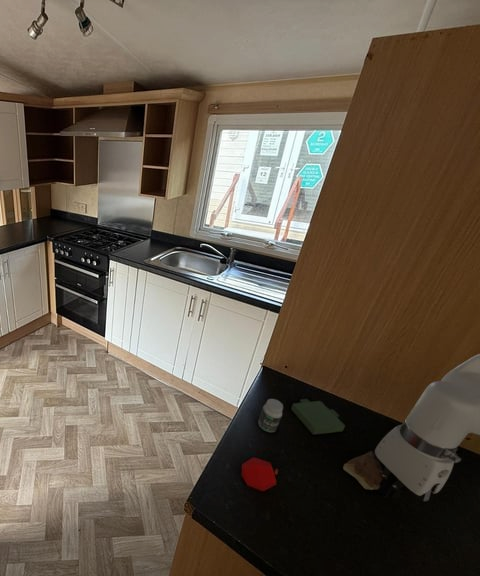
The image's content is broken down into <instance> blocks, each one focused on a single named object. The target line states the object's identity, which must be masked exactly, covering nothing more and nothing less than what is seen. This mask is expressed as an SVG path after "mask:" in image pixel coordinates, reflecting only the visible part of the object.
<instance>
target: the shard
mask: <svg viewBox="0 0 480 576" xmlns="http://www.w3.org/2000/svg"><path fill="white" fill-rule="evenodd" d="M374 453H375V450H370V451H368V452H367V453H365V454H362V455H359V456H356V457H354V458H352V459H350V460H348V462H345V463H344V464H343V466H342V467H343V468H342V469H343V471H345V472H346V473H348V474H349V475H350V476H352V477H353V478H354V479H355V480H356V481H358V483H359V484H360V485H361V486H362V487H363V489H365V490H370V491H373V490H378V488H379V487H380V485H379V484H380V482H381V481H382V479H383V476H382V473H383V470H382V467H381V464H380V462H379V461H378V460H377V458H376V457H375V456H374Z"/></svg>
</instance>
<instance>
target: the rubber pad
mask: <svg viewBox="0 0 480 576" xmlns="http://www.w3.org/2000/svg"><path fill="white" fill-rule="evenodd" d="M290 410H291V411H292V412H293V413H294V414H295V416H296V417H297V418H298V419H299V420H300V422H302V424H303V425H304V427H306V428H307V430H308V431H309V432H310V433H311V434H312V435H322V434H331V433H339V432H340V433H341V432H343V431H344V430H345V427H346V425H345V424H344V423H343V422H342V421H341V419H339V417H340V414H339V413H337V412H336V410H334V409H333V408H332V409H331V408H330V409H329V408H328V407H327V406H326V405H325V404H324V402H322V401H321V400H315V401H310V400H309V399H308V398H302V399H299V401H298V402H297V403H292V404H291V407H290Z"/></svg>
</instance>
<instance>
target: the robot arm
mask: <svg viewBox="0 0 480 576" xmlns="http://www.w3.org/2000/svg"><path fill="white" fill-rule="evenodd" d="M469 434H474V435H478V436H480V353H478V354H476V355H474V356H472V357H470V358H468V359H467V360H465V361H464V362H461V364H459V365H457V366H455V367H454V368H452V369H451V370H450V371H448V372H447V373H446V374H445V375H444V376H443V377H442V378H441V380H437V381H433V382H431V383H430V384H428V385H427V386H426V388H425V389H424V391H423V392H422V394H421V395H420V397H419V398H418V400H417V402H416V403H415V404H414V405H413V407H412V409H411V411H410V412H409V414H408V415H407V417H406V418H405V419H404V421H403V423H402V424H399V425H397V426H395V427H394V428H392V429H391V430H390V431H388V432H387V434H386V435H384V437H382V439H381V440H380V441H379V443H378V444H377V445H376V447H375V449H374V456H375V457H376V459H377V461H378V463H379V464H380V467H381V469H382V472H383V473H382V476H383V479H382V481H381V482H380V484H379V485H380V487H379V488H378V489H376V491H377V492H378V493H380V494H381V496H382V497H383V498H384V499H386V498H392V499H397V498H398V497H400V495H401V493H403V492H404V493H409V494H411V495H412V496H413V497H414V498H415V499H417V500H418V501H420V502H421V503H425V502H429V500H430V498H431V493H432V494H433V495H435V494H437V493H439V492H440V491H441V490H442V489H443V487H444V486H445V484H446V483H447V481H448V479H449V477H450V475H451V474H452V471H453V469H454V464H457V463H460V462H461V461H462V457H460V456H459V455H458V453H457V451H458V450H459V446H460V445H461V443H463V441H464V440H465V438H466V437H467V436H468V435H469Z"/></svg>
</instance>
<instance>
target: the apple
mask: <svg viewBox="0 0 480 576" xmlns="http://www.w3.org/2000/svg"><path fill="white" fill-rule="evenodd" d="M278 472H279V469H278V468H275V469H273V466H272V463H271V462H270V461H266V460H263V459H260V458H258V457H252V458H250V459H248V460H247V461H245V462H243V463H241V473H240V475H241V477H242V479H243V481H244V482H245V484H246V486H248V487H251V488H253V489H256V490H258V491H260V492H265V491H267V490H268V489H271V488H272V487H275V486H276V485H277V478H276V475H278Z"/></svg>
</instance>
